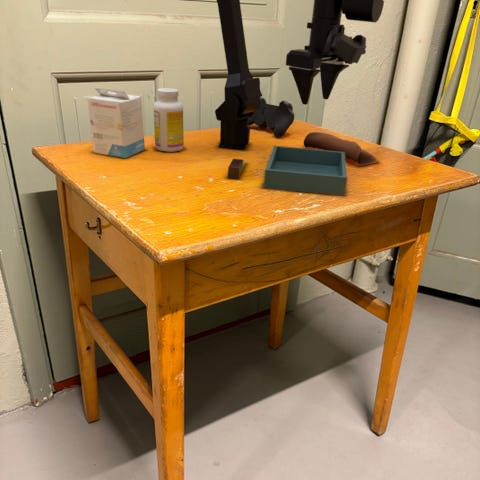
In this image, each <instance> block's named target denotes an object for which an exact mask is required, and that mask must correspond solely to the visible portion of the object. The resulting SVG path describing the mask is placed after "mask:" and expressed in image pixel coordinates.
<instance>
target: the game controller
mask: <svg viewBox="0 0 480 480" xmlns="http://www.w3.org/2000/svg"><path fill="white" fill-rule="evenodd" d="M293 110H294V107H293V104H292V103H290V102H288V101H287V100H281V101H280V102H279V104H278V105H275V104H272V103H271V104H270V103H267V100H266V98H264V97H263V96H261V97H260V105H259V106H258V108H257V109H256V110H255V111H254V113H253V116H252V118H248V125H250V126H252V125H255V126H257V128H259V129H262V130H263V129H267V128H268V129H269V130H270V131H272V133H273V136H274V137H275V138H277V139H281V138H282V137H283V136H285V134H286V133H287V132H288V130H289V128H290V127H291V126H292V125H293V123H294V121H295V112H294V111H293Z"/></svg>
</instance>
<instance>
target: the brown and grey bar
mask: <svg viewBox="0 0 480 480" xmlns="http://www.w3.org/2000/svg"><path fill="white" fill-rule="evenodd" d="M245 166H246V161H245V160H244V159H243V158H242V159H241V158H232V160H231V162H230V164H229V165H228V166H227V167H228V168H227V169H228V170H227V179H231V180H232V179H233V180H239V179H240V177H241V175H242V173H243V171H244V168H245Z"/></svg>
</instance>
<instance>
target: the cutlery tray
mask: <svg viewBox="0 0 480 480" xmlns="http://www.w3.org/2000/svg"><path fill="white" fill-rule="evenodd" d="M263 180H264V181H263V188H264V189H268V190H269V189H270V190H279V191H280V190H281V191H291V192H299V193H300V192H302V193H312V194H322V195H332V196H342V197H344V196H345V191H346V186H347V180H348V174H347V162H346V158H345V152H339V151H328V150H323V149H317V148H306V147H294V146H284V145H280V146H279V145H274V146H273V148H272V150H271V153H270V156H269V159H268V161H267V164H266V167H265V170H264V179H263Z"/></svg>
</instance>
